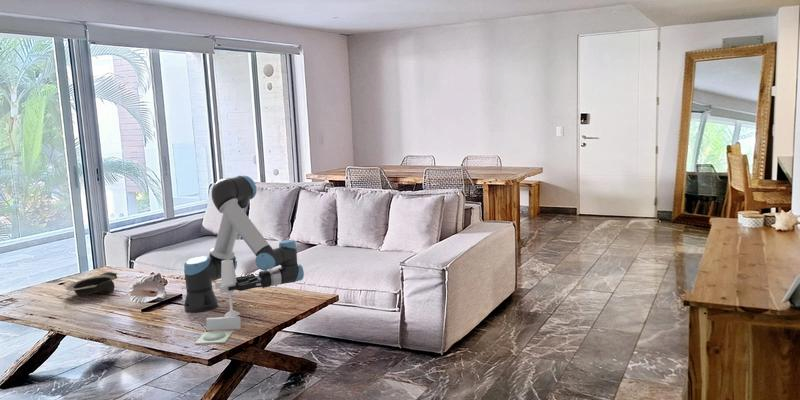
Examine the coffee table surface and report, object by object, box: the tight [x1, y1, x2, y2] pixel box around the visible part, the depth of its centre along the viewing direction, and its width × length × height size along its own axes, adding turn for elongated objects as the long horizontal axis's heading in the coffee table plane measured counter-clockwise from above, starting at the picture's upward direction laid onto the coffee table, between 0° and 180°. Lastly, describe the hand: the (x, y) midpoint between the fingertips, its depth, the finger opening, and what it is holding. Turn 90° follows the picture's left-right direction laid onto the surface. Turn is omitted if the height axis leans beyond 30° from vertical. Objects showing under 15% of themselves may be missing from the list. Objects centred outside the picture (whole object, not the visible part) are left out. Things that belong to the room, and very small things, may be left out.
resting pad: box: [194, 330, 234, 346], centre depth 247 cm, size 12×12×1 cm
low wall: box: [205, 315, 242, 332], centre depth 256 cm, size 14×2×5 cm, turn 90°
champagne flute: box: [220, 260, 240, 317], centre depth 263 cm, size 7×7×24 cm
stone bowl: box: [65, 271, 118, 297], centre depth 321 cm, size 25×25×9 cm
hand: (217, 287), depth 261 cm, fingers closed on champagne flute, 7 cm apart
